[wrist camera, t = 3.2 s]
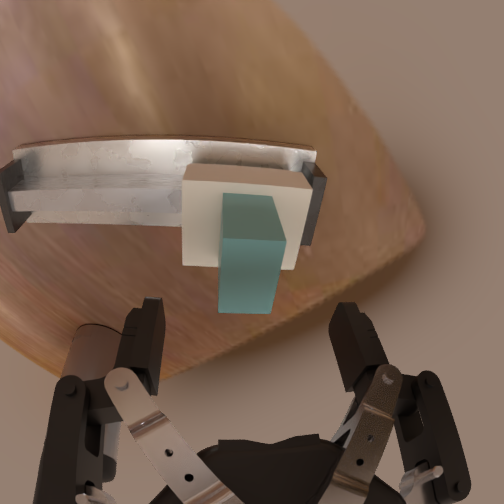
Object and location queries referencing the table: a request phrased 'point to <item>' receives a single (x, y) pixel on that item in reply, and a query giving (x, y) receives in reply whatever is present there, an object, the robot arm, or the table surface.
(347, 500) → the robot arm
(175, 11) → the table surface
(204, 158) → the metal rail
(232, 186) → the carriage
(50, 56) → the table surface
